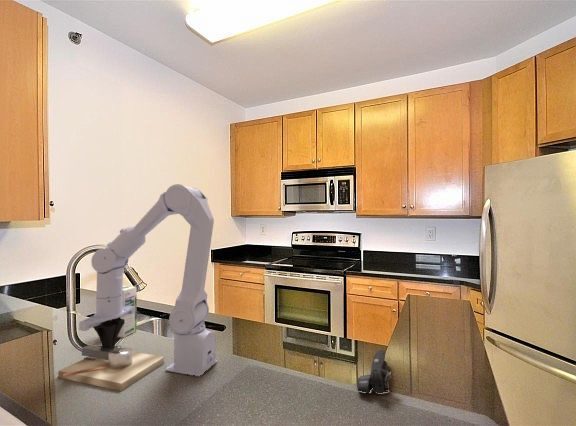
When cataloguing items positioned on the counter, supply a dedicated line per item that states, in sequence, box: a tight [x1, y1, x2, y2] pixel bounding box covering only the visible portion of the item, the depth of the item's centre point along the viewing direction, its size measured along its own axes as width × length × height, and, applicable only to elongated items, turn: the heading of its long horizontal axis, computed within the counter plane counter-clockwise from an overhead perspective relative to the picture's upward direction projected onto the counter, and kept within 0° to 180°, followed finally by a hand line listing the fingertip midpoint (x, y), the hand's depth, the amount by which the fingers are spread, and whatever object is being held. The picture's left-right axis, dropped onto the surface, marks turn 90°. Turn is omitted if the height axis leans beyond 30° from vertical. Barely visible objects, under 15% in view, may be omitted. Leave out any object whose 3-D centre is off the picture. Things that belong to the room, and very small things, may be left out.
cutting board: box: [57, 351, 165, 392], centre depth 71 cm, size 18×15×2 cm
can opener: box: [356, 349, 393, 393], centre depth 68 cm, size 18×7×6 cm, turn 155°
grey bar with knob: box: [81, 344, 134, 369], centre depth 73 cm, size 14×5×4 cm, turn 73°
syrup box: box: [117, 285, 138, 339], centre depth 95 cm, size 6×6×14 cm
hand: (108, 350), depth 77 cm, fingers closed
